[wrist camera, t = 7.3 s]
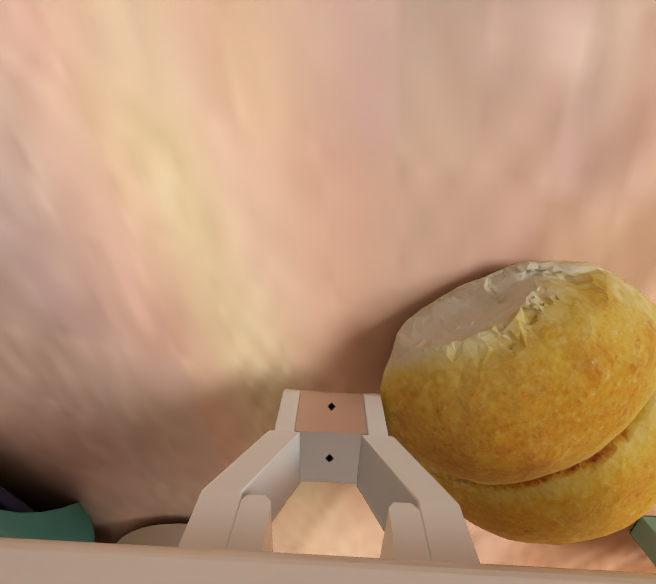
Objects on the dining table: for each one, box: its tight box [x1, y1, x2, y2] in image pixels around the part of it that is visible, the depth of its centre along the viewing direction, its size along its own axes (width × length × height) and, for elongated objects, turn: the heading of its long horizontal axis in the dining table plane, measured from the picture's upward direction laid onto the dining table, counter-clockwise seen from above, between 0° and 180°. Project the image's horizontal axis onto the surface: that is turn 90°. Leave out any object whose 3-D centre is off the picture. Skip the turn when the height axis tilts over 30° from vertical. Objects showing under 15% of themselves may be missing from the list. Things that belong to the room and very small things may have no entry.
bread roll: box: [379, 261, 656, 545], centre depth 9 cm, size 8×9×4 cm
